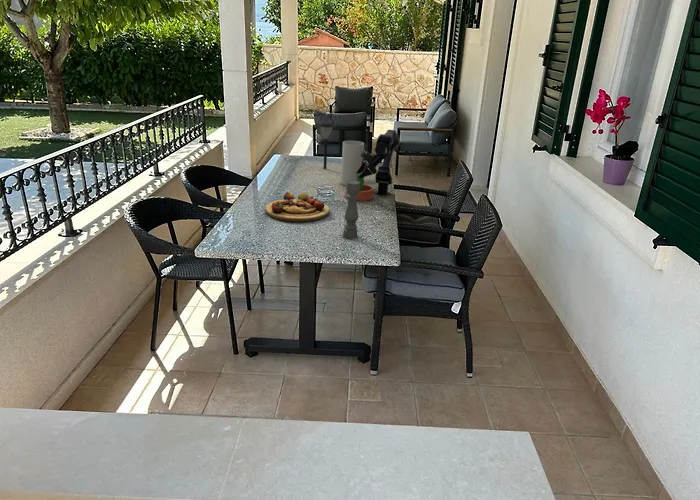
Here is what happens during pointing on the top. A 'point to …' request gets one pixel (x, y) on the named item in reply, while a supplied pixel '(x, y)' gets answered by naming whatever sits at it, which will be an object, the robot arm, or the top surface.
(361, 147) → the cylinder vase
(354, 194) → the candle holder
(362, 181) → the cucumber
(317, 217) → the wooden plate
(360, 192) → the pot
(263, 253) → the top surface
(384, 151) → the robot arm
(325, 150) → the solar garden light
